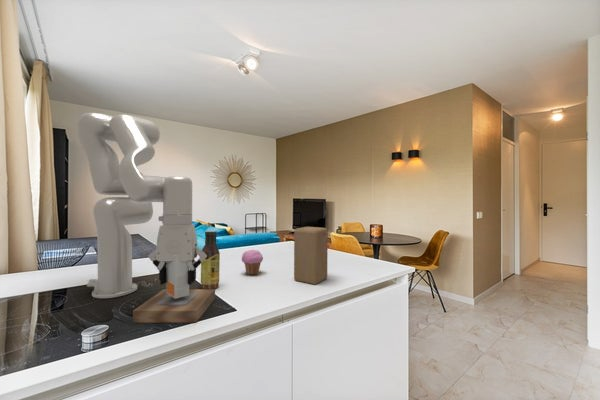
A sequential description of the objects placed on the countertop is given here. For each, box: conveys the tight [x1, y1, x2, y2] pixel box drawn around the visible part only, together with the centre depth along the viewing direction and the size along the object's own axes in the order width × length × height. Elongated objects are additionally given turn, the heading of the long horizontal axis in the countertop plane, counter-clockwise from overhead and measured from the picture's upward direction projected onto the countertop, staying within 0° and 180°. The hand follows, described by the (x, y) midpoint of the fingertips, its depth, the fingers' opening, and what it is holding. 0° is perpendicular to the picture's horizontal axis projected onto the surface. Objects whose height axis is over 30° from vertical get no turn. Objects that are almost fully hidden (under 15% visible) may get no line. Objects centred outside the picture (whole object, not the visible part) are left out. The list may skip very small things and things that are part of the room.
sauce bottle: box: [200, 230, 221, 289], centre depth 96 cm, size 7×6×20 cm
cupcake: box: [241, 249, 264, 276], centre depth 114 cm, size 9×9×10 cm
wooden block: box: [293, 226, 329, 285], centre depth 106 cm, size 10×10×20 cm
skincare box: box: [165, 255, 190, 299], centre depth 77 cm, size 6×4×12 cm
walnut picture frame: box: [132, 288, 216, 324], centre depth 77 cm, size 16×16×3 cm
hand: (177, 282), depth 78 cm, fingers closed on skincare box, 7 cm apart
